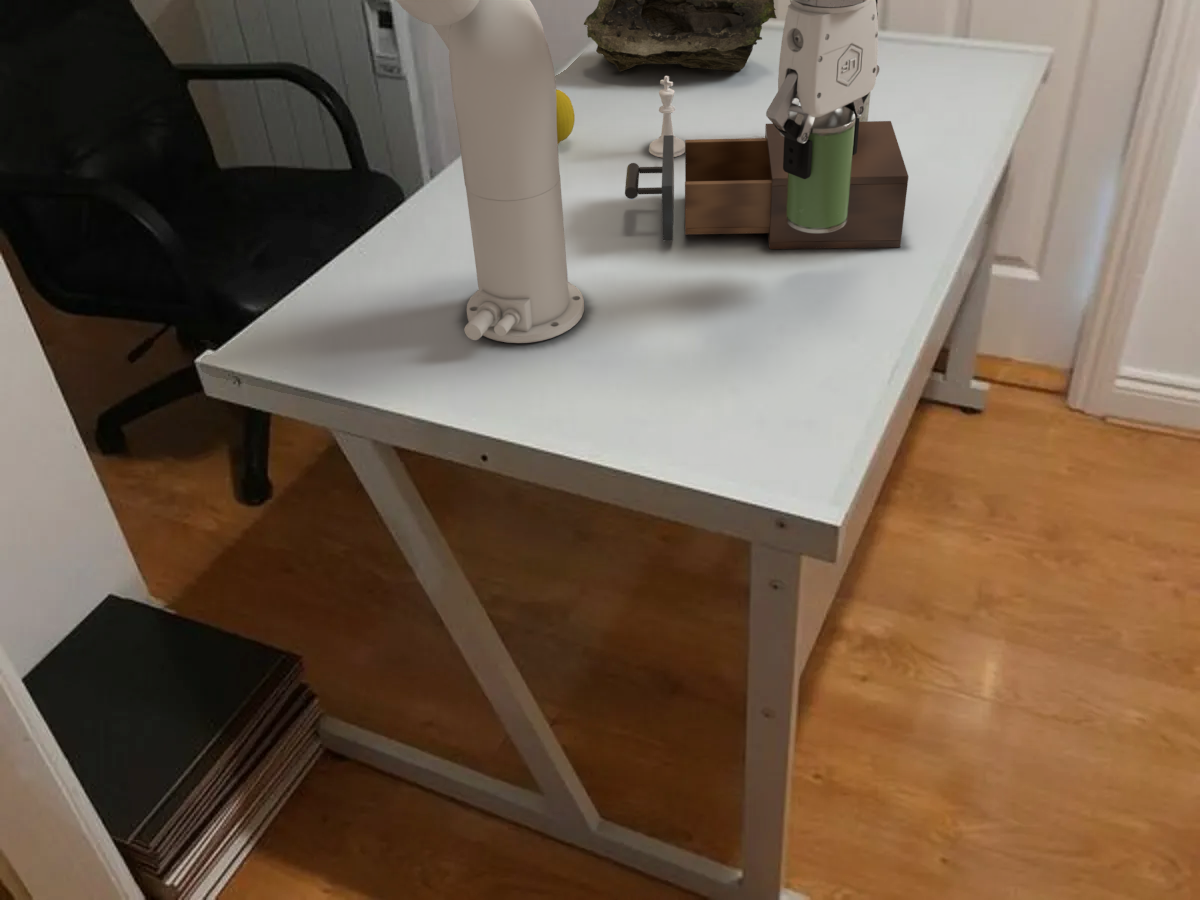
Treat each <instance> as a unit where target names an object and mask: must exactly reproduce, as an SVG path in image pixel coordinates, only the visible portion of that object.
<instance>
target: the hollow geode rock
mask: <svg viewBox="0 0 1200 900" xmlns="http://www.w3.org/2000/svg"><path fill="white" fill-rule="evenodd" d="M776 10H777V9H776V8H775V0H598V2H597V6H596V8H595V9H594V10H593V11H592V12H591V13H590V14H589V15H587V16H586V17H585V19H584V22H583V25H584V26H586V31H587V32H586V33H587V34H586V35H587V38H591V40H592V41H593V42H595V44H596V45H597V47H596V50H595V52H596V53H597V54H599V55H602V56H603V58H604V59H605V60H606V61H607V62H609V63H611V64H613V65H615V66H616V69H617V70H618V71H619V72H623V71H626V70H628V69H631V68H633V67H635V66H642V65H644V64H656V65H659V64H661V65H666V64H670V65H671V64H673V65H674V64H680V65H681V66H682V67H683V68H689V69H707V70H712V71H714V70H720V71H722V72H724V71H725V72H726V71H727V72H728V71H730V72H741V70H743V69H744V68H745V66H746V65H747V62H748V60H749V59H750V56H751V55H752V52H753V48H754V46H756V45H757V44H758V41H761V40H763V37H762V36H761V33H762V32H761V31H762V29H763V26H762V25H764V24H765V23H767V22H768V21H769V20H770V19H775V20H776V19H777V18H778V17H777V15H776Z"/></svg>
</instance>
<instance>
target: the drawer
mask: <svg viewBox="0 0 1200 900" xmlns="http://www.w3.org/2000/svg"><path fill="white" fill-rule="evenodd" d="M674 136H675V135H674ZM674 136H673V135H664V138H663V158H662V163H661V164H662V165H661V166H640V165H639V164H638V163H636V162H631V163H629V164H627V166H626V176H625V187H624V195H625V197H626V198H627V199H629V200H634V199H636V198H637V197H638V195H661V223H662V224H661V225H662V227H661V229H662V231H661V232H662V241H663V242H668V241H669V242H670V241H671V242H672V241H674V213H675V212H674V211H675V210H674V209H675V157H674ZM684 142H685V152H684V153H685V154H684V156H685V157H684V162H685V163H684V168H685V169H684V171H685V172H684V176H685V178H684V222H685V223H684V235H733V234H734V235H736V234H737V235H739V234H742V235H745V234H768V233H769V229H770V206H771V183H772V182H771V173H770V165H769V157H768V148H767V140H766V138H765V137H750V138H749V137H746V138H743V137H742V138H702V139H698V138H695V139H685V140H684ZM640 174H661V186H660V187H657V186H656V187H655V186H654V187H639V183H640Z"/></svg>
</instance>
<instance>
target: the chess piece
mask: <svg viewBox="0 0 1200 900" xmlns="http://www.w3.org/2000/svg"><path fill="white" fill-rule="evenodd" d="M659 84H660V85H663V87H664V88H662V89H660V90H659V91H658V95H659V98H660V101H661V104H662V105H661V106H660V107H658V112H659V113H661V114H663V115H662V125H661V134H660V136H658V138H656V139H654V140H652V141H651V142H650V143H649V148H648V152H649V154H651V155H652V156H655V157H658V158H662V159H663V138H664V135H673V136H674V158H677V157H679V156H681V155H683V154H684V153H685V140H683V139H680V138H678V137H677V136H675V135H674V134H675V133H674V128H673V121H672V114H673V113H675V112H676V107H675V106H674V105H672V103H673V99H674V96H675V90H674V89H673V88H670V87H673V86H674V82H673V81H670V76H669V75H664V77H663V79H660V81H659Z"/></svg>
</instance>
